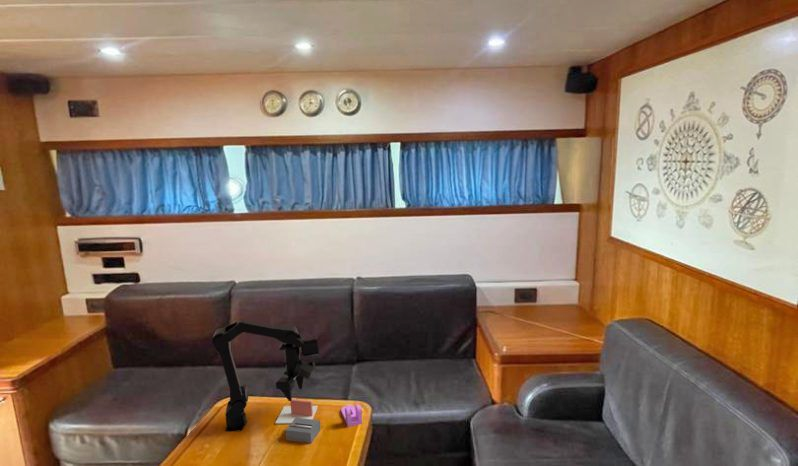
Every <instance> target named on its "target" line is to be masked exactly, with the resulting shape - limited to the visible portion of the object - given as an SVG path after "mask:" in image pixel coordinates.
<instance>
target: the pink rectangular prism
mask: <svg viewBox="0 0 798 466" xmlns="http://www.w3.org/2000/svg"><path fill="white" fill-rule="evenodd" d="M289 402H290V403H289V404H290V406H291V414H296V415H305V416H313V410H312V406H313V401H311V400H302V399H293V398H292V400H291V401H289Z"/></svg>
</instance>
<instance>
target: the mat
mask: <svg viewBox="0 0 798 466" xmlns="http://www.w3.org/2000/svg"><path fill="white" fill-rule="evenodd" d="M318 406H319V405H312V410H313V416H305V415H296V414H291V405H284V406H283V407H282V409H281V412H280V413H279V415H278V417H277V419H276V421H275V422H274V424H275V425H290V424H291V423H292V422H293V420H294V419H295V418H303V419H312V420H314V417H315V414H316V412H317V410H318Z"/></svg>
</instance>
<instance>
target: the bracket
mask: <svg viewBox="0 0 798 466" xmlns="http://www.w3.org/2000/svg"><path fill="white" fill-rule="evenodd" d="M361 407H362V406H361V404H355V405H352V404H348V405H344V406H342V407H341V408H340V411H341V415H342V418H343V419H344V421H345V423H346V425H347V427H348V428H350V427H354V426H358V425H361V424H363V416H362V408H361Z"/></svg>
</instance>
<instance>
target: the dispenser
mask: <svg viewBox="0 0 798 466" xmlns="http://www.w3.org/2000/svg"><path fill="white" fill-rule="evenodd" d="M320 432H321V421H320V419H313V420H312V419H303V418H295V419H294V420H293V422H292V423H291V424H288V426H287V428H286V429H285V439H286V440H287V441H291V442H292V441H293V442H300V443H305V444H306V443H307V444H312V443H313V442H314V440H315V438H317V436H318V434H319V433H320Z"/></svg>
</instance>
